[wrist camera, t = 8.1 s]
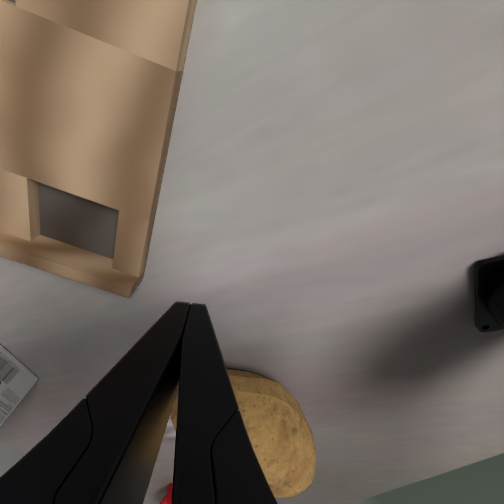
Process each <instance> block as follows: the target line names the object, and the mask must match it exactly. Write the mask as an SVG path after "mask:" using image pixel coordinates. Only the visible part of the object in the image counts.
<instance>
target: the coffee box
mask: <svg viewBox="0 0 504 504" xmlns="http://www.w3.org/2000/svg"><path fill="white" fill-rule="evenodd" d="M37 381H38V378H37V377H36V376H35V375H34V374H33V373H32V372H31V371H30V370H29V369H27V368H26V367H25V366H24V365H23V364H22V363H21V362H19V361H18V360H17V359H16V358H15V357H14V356H13V355H12V354H11V353H9V352H8V351H7V350H6V349H5V348H4V347H3V346H2V345H1V344H0V428H1V426H2V425H3V424H4V423H5V421H6V420H7V419H8V417H9V416H10V415H11V414H12V412H13V411H14V410H15V408H16V407H17V406H18V405H19V404H20V402H21V401H22V400H23V398H24V397H25V396H26V395H27V393H28V392H29V391H30V390H31V388H32V387H33V386H34V385H35V383H36V382H37Z"/></svg>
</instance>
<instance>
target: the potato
mask: <svg viewBox="0 0 504 504" xmlns="http://www.w3.org/2000/svg"><path fill="white" fill-rule="evenodd" d="M227 372H228V375H229V378H230V382H231V385H232V388H233V391H234V394H235V397H236V400H237V403H238V406H239V411H240V412H241V415H242V418H243V422H244V425H245V428H246V430H247V433H248V436H249V439H250V442H251V444H252V447H253V450H254V452H255V454H256V457H257V459H258V462H259V464H260V466H261V469H262V471H263V473H264V476H265V478H266V480H267V482H268V484H269V486H270V489H271V491H272V493H273V495H274V497H276V498H290V497H293V496H296V495H298V494H299V493H301V492H303V491H304V490H305V489H306V488H307V487H308V486H309V485H310V484H311V482H312V481H313V478H314V473H315V469H316V451H315V444H314V437H313V433H312V431H311V429H310V427H309V425H308V423H307V420H306V418H305V416H304V414H303V412H302V409H301V407H300V405H299V403H298V402H297V401H296V399H295V398H294V397H293V396H292V395H291V394H290V393H289V392H288V391H287V390H286V389H285V388H284V387H283V386H282V385H281V384H279V383H277V382H275V381H272V380H270V379H268V378H265V377H263V376H260V375H257V374H254V373H251V372H246V371H240V370H229V369H227ZM177 409H178V396H177V397H176V399H175V400H174V403H173V406H172V409H171V420H172V422H173V425H174V427H175V429H176V425H177Z"/></svg>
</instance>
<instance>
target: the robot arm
mask: <svg viewBox="0 0 504 504" xmlns="http://www.w3.org/2000/svg"><path fill="white" fill-rule="evenodd" d="M486 266H487V267H486ZM484 267H486V268H485V269H483V268H484ZM475 325H476V327H477V329H478V330H479V331H480V332H489V331H495V330H501V329H503V330H504V256H500V257H495V258H491V259H486V260H482V261H480V262H478V263H477V264H476V265H475ZM178 386H179V393H178V409H177V425H176V441H175V458H174V474H173V490H172V504H277V502H276V499H275V497H274V495H273V493H272V491H271V489H270V486H269V484H268V482H267V480H266V478H265V476H264V473H263V471H262V469H261V466H260V464H259V462H258V459H257V457H256V454H255V452H254V450H253V447H252V444H251V442H250V439H249V436H248V433H247V430H246V428H245V425H244V422H243V418H242V415H241V412H240V411H239V406H238V403H237V400H236V397H235V394H234V391H233V388H232V385H231V382H230V378H229V375H228V372H227V369H226V366H225V363H224V360H223V357H222V353H221V350H220V347H219V344H218V341H217V338H216V335H215V332H214V328H213V325H212V322H211V319H210V316H209V313H208V310H207V307H206V305H205V304H197V303H192V304H190V303H188V302H175V303H174V304H173V305H172V306H171V307H170V308H169V309H168V310H167V311H166V313H165V314H164V315H163V316H162V317H161V318H160V319H159V320H158V321H157V322H156V323H155V324H154V325H153V326H152V327H151V328H150V329H149V330H148V331H147V332H146V333H145V334H144V336H143V337H142V338H141V339H140V340H139V341H138V342H137V343H136V344H135V345H134V346H133V347H132V348H131V349H130V350H129V351H128V352H127V353H126V354H125V355H124V356H123V358H122V359H121V360H120V361H119V362H118V363H117V364H116V365H115V366H114V367H113V368H112V369H111V370H110V371H109V372H108V373H107V374H106V375H105V376H104V377H103V378H102V379H101V381H100V382H99V383H98V384H97V385H96V386H95V387H94V388H93V389H92V390H91V391H90V392H89V393H88V394H87V395H86V399H85V398H84V399H82V400H81V401H80V402H79V403H78V404H77V405H76V406H75V408H74V409H73V410H72V411H71V412H70V413H69V414H68V415H67V416H66V417H65V418H64V419H63V420H62V421H61V422H60V423H59V424H58V425H57V426H56V427H55V428H54V429H53V430H52V431H51V432H50V433H49V434H48V435H47V436H46V437H44V438H43V439H42V440H41V441H40V442H39V443H38V444H37V445H36V446H35V447H34V448H32V449H31V450H30V451H29V452H28V453H27V454H26V455H25V456H24V457H23V458H21V459H20V460H19V461H18V462H17V463H16V464H15V465H14V466H13V467H11V468H10V469H9V470H8V471H7V472H6V473H5V474H3V475H2V476H1V477H0V504H143V501H144V498H145V495H146V492H147V488H148V485H149V482H150V478H151V475H152V472H153V468H154V465H155V462H156V459H157V455H158V452H159V449H160V445H161V442H162V439H163V435H164V432H165V429H166V426H167V422H168V419H169V416H170V412H171V409H172V406H173V403H174V399H175V396H176V393H177V389H178Z"/></svg>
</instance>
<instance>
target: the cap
mask: <svg viewBox="0 0 504 504" xmlns="http://www.w3.org/2000/svg"><path fill="white" fill-rule="evenodd" d="M160 504H172V484H169V486H168V491H167V496H166V497H164V498H163V500H162V501H161V502H160Z"/></svg>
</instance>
